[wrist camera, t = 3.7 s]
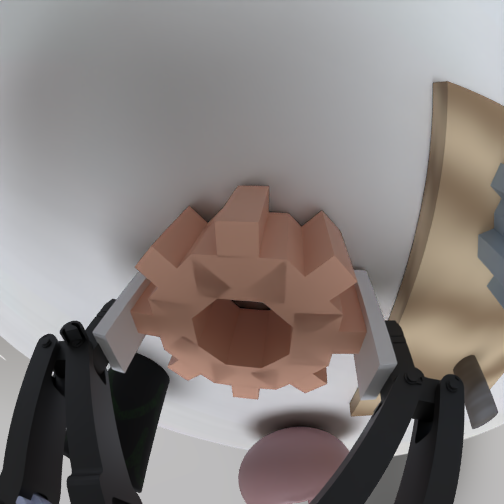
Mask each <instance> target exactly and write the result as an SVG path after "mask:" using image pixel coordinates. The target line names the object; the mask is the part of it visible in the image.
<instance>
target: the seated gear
mask: <svg viewBox="0 0 504 504" xmlns="http://www.w3.org/2000/svg"><path fill="white" fill-rule="evenodd" d="M490 186H491V187H492V188H493V189H494V190H495V191H496V193H497V194H498V195H499V196H500V197H501V200H500V202H499V204H498V206H497V208H496V210H495V212H494V229H491V230H489V231H486V232H484V233H482V234H479V235H478V258H479V259H480V260H481V262H482V263H483V264H484V265H485V266H486V267H487V268H488V269H489V270H490V272H491V273H492V274H493V275H494V276H493V278H492V279H491V280H490V282H489V283H488V285H487V287H488V289H489V290H490V291H491V293H492V294H493V295H494V297H495V298H496V299H497V301H498V302H499V303H500V305H501V306H502V308H503V309H504V164H502V163H500V165H499V167H498V170H497V172H496V174H495V176H494V178H493V181H492V183H491V185H490Z"/></svg>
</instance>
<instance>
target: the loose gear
mask: <svg viewBox="0 0 504 504" xmlns="http://www.w3.org/2000/svg"><path fill="white" fill-rule="evenodd" d="M135 268H136V269H137V270H138V271H139V272H141V273H142V274H143V275H144V276H145V277H146V278H147V279H149V280H150V281H151V282H150V284H149V285H148V286H147V288H146V289H145V291H144V292H143V293H142V295H141V296H140V298H139V299H138V301H137V302H136V303H135V305H134V306H133V308H132V309H131V311H130V313H131V315H132V318H133V321H134V323H135V326H136V329H137V331H138V333H141V334H146V335H152V336H157V337H160V338H161V341H162V344H163V347H164V350H166V351H167V352H168V353H170V354H171V355H172V357H171V360H170V362H169V364H168V368H169V369H171V370H172V371H174V372H175V373H177V374H178V375H180V376H181V377H183V378H184V379H186V380H190V379H192V378H194V377H197V376H199V375H203V376H204V377H206V378H207V379H209V380H211V381H212V382H214V383H218V384H225V385H232V392H233V397H240V398H249V399H258V397H259V390H260V388H262V389H275V390H276V389H279V388H281V387H284V386H286V385H288V384H291V385H292V386H294V387H296V388H297V389H299V390H301V391H302V392H304V393H307V392H309V391H312V390H314V389H316V388H319V387H321V386H323V385H326V384H327V373H326V367H327V366H329V362H330V359H331V356H332V354H359V351H360V349H361V346H362V343H363V341H364V338H365V335H366V333H367V330H366V326H365V322H364V318H363V315H362V311H361V307H360V303H359V300H358V296H357V293H356V289H355V286H354V284H355V283H356V282H357V279H356V276H355V273H354V269H353V266H352V263H351V260H350V258H349V255H348V252H347V249H346V246H345V243H344V240H343V238H342V235H341V232H340V230H339V229H338V228H337V227H336V226H335V225H334V223H333V222H332V221H331V220H330V219H329V218H328V217H327V215H326V214H325V213H324V212H323V211H320V212H319V213H318V214H317V215H315V216H314V217H313V218H312V219H311V220H309V221H308V222H307V223H306V224H304V225H303V226H302V227H301V226H300V225H299V223H298V222H297V221H296V220H295V219H294V218H293V217H292V216H291V215H290V214H289V213H274V212H269V186H237V188H236V189H235V191H234V192H233V194H232V195H231V197H230V198H229V200H228V201H227V203H226V204H225V206H224V207H223V209H222V210H221V211H219V212H218V213H217V214H216V215H215V216H214V217H213V218H212V219H211V220H210V221H209V222H208V223H207V222H206V221H205V220H204V219H203V218H202V217H201V216H200V215H199V214H198V213H197V212H195V211H194V210H193V209H192V208H191V207H190V206H188V207H187V209H186V210H185V211H184V212H183V213H182V214H181V215H180V216H179V217H178V218H177V219H176V220H175V221H174V222H173V223H172V224H171V225H170V226H169V227H168V228H167V229H166V230H165V231H164V233H163V234H162V235H161V236H160V237H159V238H158V239H157V240H156V241H155V242H154V243H153V244H152V246H151V247H150V248H149V249H148V251H147V252H146V253H145V254H144V256H143V257H142V258H141V259H140V261H139V262H138V263H137V265H136V266H135ZM231 300H240V301H253V302H263V303H264V304H266V305H267V306H268V307H269V308H270V309H271V310H255V309H242V308H239V307H238V306H237V305H235V304H234V303H233V302H232V301H231Z"/></svg>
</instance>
